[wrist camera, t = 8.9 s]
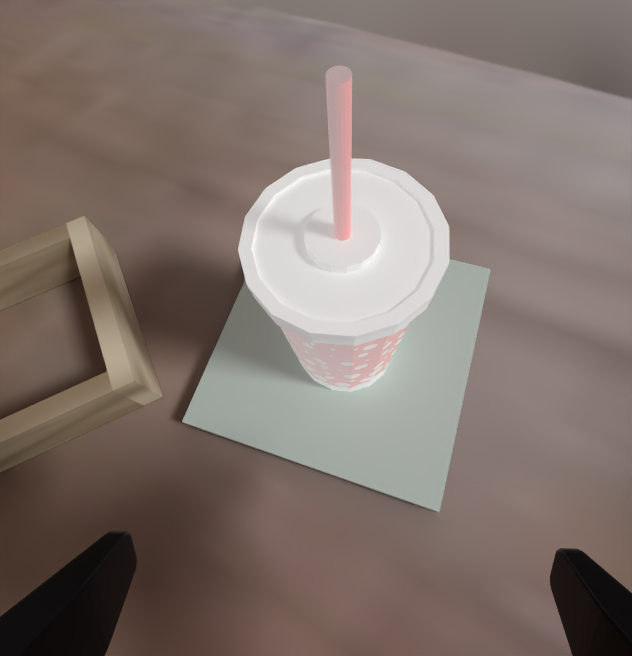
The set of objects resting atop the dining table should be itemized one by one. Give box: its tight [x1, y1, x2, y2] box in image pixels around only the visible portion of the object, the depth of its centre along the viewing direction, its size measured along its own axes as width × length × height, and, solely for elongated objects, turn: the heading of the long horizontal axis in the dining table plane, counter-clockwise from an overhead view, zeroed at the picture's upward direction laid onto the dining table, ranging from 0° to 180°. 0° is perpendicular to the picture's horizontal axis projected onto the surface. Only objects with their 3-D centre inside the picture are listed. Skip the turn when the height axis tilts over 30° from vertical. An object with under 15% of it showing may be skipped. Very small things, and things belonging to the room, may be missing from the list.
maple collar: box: [0, 216, 163, 472], centre depth 21 cm, size 10×10×3 cm
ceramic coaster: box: [182, 259, 491, 512], centre depth 21 cm, size 12×12×1 cm
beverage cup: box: [238, 66, 449, 392], centre depth 14 cm, size 6×6×14 cm
